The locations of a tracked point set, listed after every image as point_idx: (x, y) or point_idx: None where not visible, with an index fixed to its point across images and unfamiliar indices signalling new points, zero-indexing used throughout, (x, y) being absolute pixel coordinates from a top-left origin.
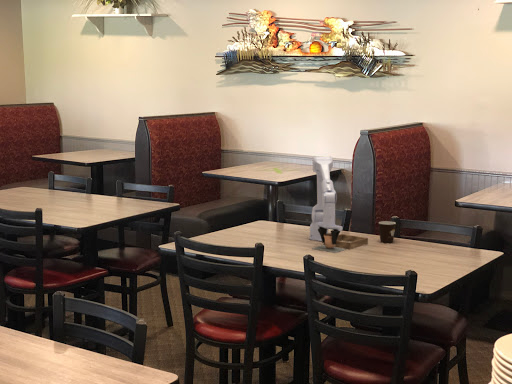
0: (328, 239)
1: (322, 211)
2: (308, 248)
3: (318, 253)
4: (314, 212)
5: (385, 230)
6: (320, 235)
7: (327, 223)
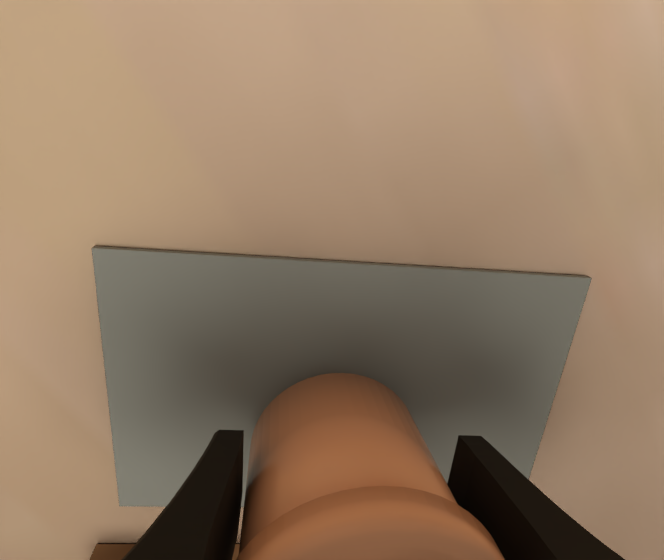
0: (323, 482)
1: None
2: (647, 257)
3: (319, 9)
4: None
5: None
6: (606, 547)
7: None
